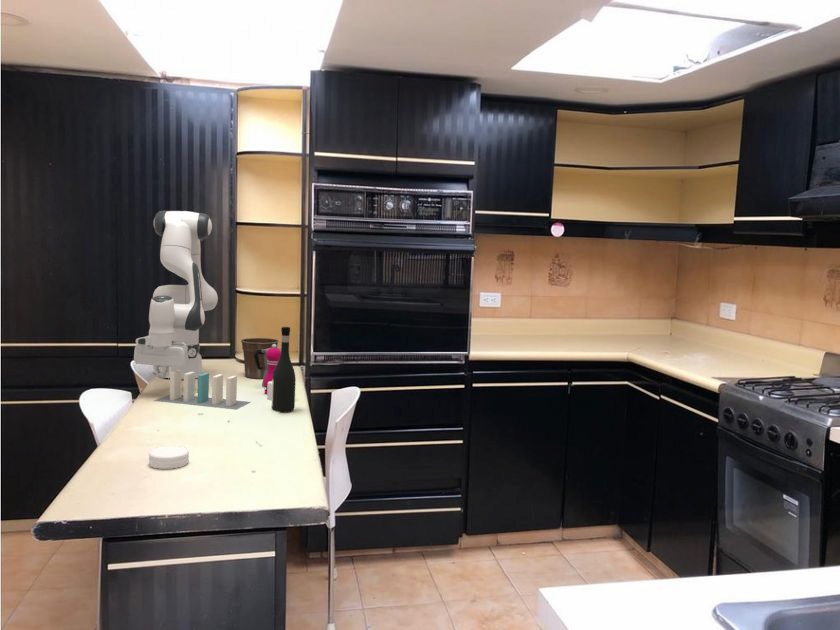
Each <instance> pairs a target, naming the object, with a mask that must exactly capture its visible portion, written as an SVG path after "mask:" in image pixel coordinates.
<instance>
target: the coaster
mask: <svg viewBox="0 0 840 630" xmlns="http://www.w3.org/2000/svg"><path fill="white" fill-rule="evenodd" d="M189 455H190V450H189V449H188V448H185V447H182V446H177V445H167V446H160V447H156V448H154V449H152V450H150V451H149V452H148V465H149V467H151V468H153V469H156V468H159V469H158V470H173V468H175V469H179V468H182V466H183V467H185V466H187V465H188V464H189V462H190V461H189V460H190V459H189V457H190V456H189ZM187 463H188V464H187ZM184 465H185V466H184ZM178 467H179V468H178Z"/></svg>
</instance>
